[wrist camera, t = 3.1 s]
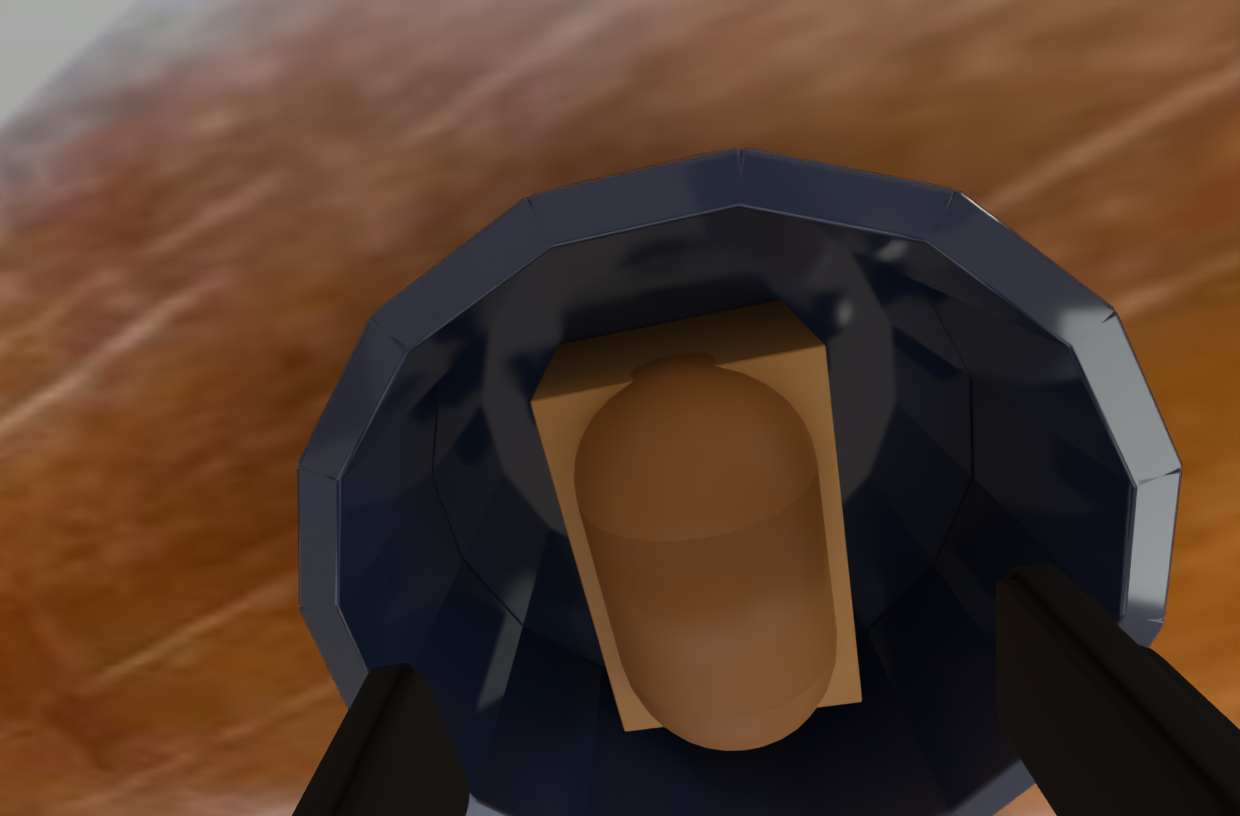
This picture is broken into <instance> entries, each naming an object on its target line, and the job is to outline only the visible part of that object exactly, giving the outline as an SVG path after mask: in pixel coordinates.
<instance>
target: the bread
mask: <svg viewBox="0 0 1240 816" xmlns="http://www.w3.org/2000/svg"><path fill="white" fill-rule="evenodd" d="M530 404H531V408H532V411H533V415H534V418H535V422H536V425H537V429H538V432H539V436H540V439H541V443H542V446H543V450H544V453H545V457H546V460H547V464H548V467H549V471H550V474H551V478H552V481H553V485H554V488H555V491H556V495H557V498H558V502H559V505H560V509H561V512H562V516H563V519H564V523H565V526H566V530H567V533H568V537H569V540H570V544H571V547H572V551H573V554H574V558H575V561H576V565H577V568H578V572H579V575H580V579H581V582H582V586H583V589H584V593H585V596H586V600H587V603H588V606H589V610H590V613H591V617H592V620H593V624H594V627H595V631H596V634H597V638H598V641H599V645H600V648H601V652H602V655H603V659H604V662H605V666H606V669H607V673H608V676H609V680H610V683H611V687H612V690H613V694H614V697H615V701H616V704H617V708H618V711H619V715H620V718H621V722H622V725H623V728H624V731H634V730H642V729H650V728H658V727H665V728H667V729H668V730H670V731H671V732H673V733H674V734H676V735H677V736H679V737H681V738H683V739H685V740H686V741H688V742H690V743H693V744H696V745H699V746H702V747H705V748H709V749H717V750H724V751H738V750H749V749H754V748H759V747H763V746H766V745H768V744H771V743H773V742H776V741H778V740H781V739H783V738H784V737H786V736H787V735H789V734H791V733H792V732H794V731H795V730H797V729H798V728H799V727H800V726H801V725H802V724H803V723H804V722H805V721H806V720H807V719H808V718H809V717H810V716H811V714H812V713H813V712H814V711H815V709H816V708H817V707H825V706H833V705H841V704H849V703H857V702H861V701H862V694H861V684H860V674H859V665H858V655H857V645H856V636H855V626H854V617H853V607H852V597H851V588H850V578H849V568H848V559H847V549H846V539H845V530H844V520H843V510H842V501H841V491H840V481H839V472H838V462H837V452H836V443H835V433H834V423H833V414H832V404H831V395H830V385H829V375H828V366H827V356H826V347H825V345H824V344H823V343H822V342H821V341H820V340H819V339H818V338H817V337H816V336H815V335H814V333H813V332H812V331H811V330H810V329H809V328H808V327H807V326H806V325H805V324H804V323H803V322H802V321H801V320H800V319H799V318H798V317H797V316H796V315H795V314H794V313H793V312H792V311H791V310H790V309H789V308H788V306H787V305H786V304H785V303H784V302H783V301H782V300H776V301H771V302H766V303H761V304H756V305H751V306H746V307H741V308H736V309H732V310H727V311H722V312H717V313H712V314H707V315H702V316H697V317H692V318H687V319H682V320H677V321H672V322H667V323H662V324H657V325H652V326H647V327H642V328H637V329H632V330H627V331H623V332H618V333H613V334H608V335H603V336H598V337H593V338H588V339H583V340H578V341H573V342H568V343H563V344H559V345H558V347H557V349H556V351H555V353H554V355H553V357H552V359H551V361H550V363H549V365H548V367H547V369H546V371H545V373H544V375H543V377H542V379H541V381H540V383H539V385H538V387H537V389H536V391H535V393H534V395H533V397H532V399H531V401H530Z"/></svg>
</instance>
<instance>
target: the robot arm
mask: <svg viewBox="0 0 1240 816" xmlns="http://www.w3.org/2000/svg"><path fill="white" fill-rule="evenodd" d="M996 679H997V715H998V719H999V722H1000V725H1001V727H1002V730H1003V732H1004V734H1005V736H1006V737H1007V739H1008V741H1009V742H1010V744H1011V745H1012V747H1013V748H1014V750H1015V751H1016V753H1017V755H1018V756H1019V758H1020V759H1021V761H1022V762H1023V764H1024V765H1025V767H1026V769H1027V770H1028V772H1029V773H1030V775H1031V776H1032V778H1033V779H1034V781H1035V783H1036V784H1037V786H1038V787H1039V789H1040V790H1041V792H1042V793H1043V795H1044V797H1045V798H1046V800H1047V801H1048V803H1049V804H1050V806H1051V807H1052V809H1053V810H1054V812H1055V814H1056V815H1057V816H1240V730H1239V729H1238V728H1237V727H1236V726H1235V725H1234V724H1233V723H1232V722H1231V721H1230V720H1229V719H1228V718H1227V717H1226V716H1224V715H1223V714H1222V713H1221V712H1220V711H1219V710H1218V709H1217V708H1216V707H1215V706H1214V705H1213V704H1212V703H1211V702H1210V701H1208V700H1207V699H1206V698H1205V697H1204V696H1203V695H1202V694H1201V693H1200V692H1199V691H1198V690H1197V689H1196V688H1195V687H1193V686H1192V685H1191V684H1190V683H1189V682H1188V681H1187V680H1186V679H1185V678H1184V677H1183V676H1182V675H1181V674H1180V673H1179V672H1177V671H1176V670H1175V669H1174V668H1173V667H1172V666H1171V665H1170V664H1169V663H1168V662H1167V661H1166V660H1165V659H1164V658H1162V657H1161V656H1160V655H1159V654H1157V653H1156V652H1155V651H1153V650H1152V649H1150V648H1147V647H1145V646H1142V645H1138V644H1137V643H1136V642H1135V641H1134V640H1133V639H1132V638H1131V637H1130V636H1129V635H1128V634H1127V633H1126V632H1125V631H1123V630H1122V629H1121V628H1120V627H1119V626H1118V625H1117V624H1116V623H1115V622H1114V621H1113V620H1112V619H1111V618H1110V617H1109V616H1108V615H1107V614H1106V613H1105V612H1104V611H1103V610H1102V609H1100V608H1099V607H1098V606H1097V605H1096V604H1095V603H1094V602H1093V601H1092V600H1091V599H1090V598H1089V597H1088V596H1087V595H1086V594H1085V593H1084V592H1083V591H1082V590H1081V589H1080V588H1079V587H1077V586H1076V585H1075V584H1074V583H1073V582H1072V581H1071V580H1070V579H1069V578H1068V577H1067V576H1066V575H1065V574H1064V573H1063V572H1062V571H1061V570H1060V569H1059V568H1057V567H1056V566H1055V565H1053V564H1050V563H1044V564H1037V565H1031V566H1024V567H1018V568H1012V569H1009V570H1008V571H1007V573H1006V579H1005V580H1000V581H998V582H997V584H996ZM469 798H470V789H469V783H468V779H467V777H466V775H465V772H464V770H463V767H462V765H461V763H460V760H459V758H458V755H457V753H456V751H455V748H454V746H453V743H452V741H451V739H450V736H449V734H448V731H447V729H446V727H445V724H444V722H443V719H442V717H441V715H440V712H439V710H438V707H437V705H436V703H435V700H434V698H433V695H432V693H431V691H430V688H429V686H428V684H427V681H426V679H425V676H424V674H423V673H422V672H421V671H420V670H414V669H413V667H412V665H410V664H409V663H399V664H393V665H386V666H380V667H375V668H373V669H372V670H371V671H370V672H369V673H368V675H367V677H366V679H365V680H364V682H363V684H362V686H361V688H360V690H359V692H358V693H357V695H356V697H355V699H354V701H353V703H352V705H351V707H350V708H349V710H348V712H347V714H346V716H345V718H344V720H343V721H342V723H341V725H340V727H339V729H338V731H337V733H336V734H335V736H334V738H333V740H332V742H331V744H330V746H329V747H328V749H327V751H326V753H325V755H324V757H323V759H322V760H321V762H320V764H319V766H318V768H317V770H316V772H315V774H314V775H313V777H312V779H311V781H310V783H309V785H308V787H307V788H306V790H305V792H304V794H303V796H302V798H301V800H300V801H299V803H298V805H297V807H296V809H295V811H294V813H293V814H292V816H466V813H467V809H468V805H469Z"/></svg>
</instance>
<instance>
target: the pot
mask: <svg viewBox="0 0 1240 816" xmlns="http://www.w3.org/2000/svg"><path fill="white" fill-rule="evenodd" d="M776 300H782V301H783V302H784V303H785V304H786V305H787V306H788V308H789V309H790V310H791V311H792V312H793V313H794V314H795V315H796V316H797V317H798V318H799V319H800V320H801V321H802V322H803V323H804V324H805V325H806V326H807V327H808V328H809V329H810V330H811V331H812V332H813V333H814V335H815V336H816V337H817V338H818V339H819V340H820V341H821V342H822V343H823V344H824V345H825V347H826V356H827V366H828V375H829V385H830V395H831V404H832V414H833V423H834V433H835V443H836V452H837V462H838V472H839V481H840V491H841V501H842V510H843V520H844V530H845V539H846V549H847V559H848V568H849V578H850V588H851V597H852V607H853V617H854V626H855V636H856V645H857V655H858V665H859V674H860V684H861V694H862V701H861V702H857V703H849V704H841V705H833V706H825V707H817V708H816V709H815V711H814V712H813V713H812V714H811V716H810V717H809V718H808V719H807V720H806V721H805V722H804V723H803V724H802V725H801V726H800V727H799V728H798V729H797V730H795V731H794V732H792V733H791V734H789V735H787V736H786V737H784V738H783V739H781V740H778V741H776V742H773V743H771V744H768V745H766V746H763V747H759V748H754V749H749V750H738V751H724V750H717V749H709V748H705V747H702V746H699V745H696V744H693V743H690V742H688V741H686V740H685V739H683V738H681V737H679V736H677V735H676V734H674V733H673V732H671V731H670V730H668V729H667V728H665V727H658V728H650V729H642V730H634V731H624V728H623V725H622V722H621V718H620V715H619V711H618V708H617V704H616V701H615V697H614V694H613V690H612V687H611V683H610V680H609V676H608V673H607V669H606V666H605V662H604V659H603V655H602V652H601V648H600V645H599V641H598V638H597V634H596V631H595V627H594V624H593V620H592V617H591V613H590V610H589V606H588V603H587V600H586V596H585V593H584V589H583V586H582V582H581V579H580V575H579V572H578V568H577V565H576V561H575V558H574V554H573V551H572V547H571V544H570V540H569V537H568V533H567V530H566V526H565V523H564V519H563V516H562V512H561V509H560V505H559V502H558V498H557V495H556V491H555V488H554V485H553V481H552V478H551V474H550V471H549V467H548V464H547V460H546V457H545V453H544V450H543V446H542V443H541V439H540V436H539V432H538V429H537V425H536V422H535V418H534V415H533V411H532V408H531V404H530V401H531V399H532V397H533V395H534V393H535V391H536V389H537V387H538V385H539V383H540V381H541V379H542V377H543V375H544V373H545V371H546V369H547V367H548V365H549V363H550V361H551V359H552V357H553V355H554V353H555V351H556V349H557V347H558V345H559V344H563V343H568V342H573V341H578V340H583V339H588V338H593V337H598V336H603V335H608V334H613V333H618V332H623V331H627V330H632V329H637V328H642V327H647V326H652V325H657V324H662V323H667V322H672V321H677V320H682V319H687V318H692V317H697V316H702V315H707V314H712V313H717V312H722V311H727V310H732V309H736V308H741V307H746V306H751V305H756V304H761V303H766V302H771V301H776ZM1181 467H1182V462H1181V460H1180V458H1179V455H1178V453H1177V451H1176V448H1175V446H1174V444H1173V441H1172V439H1171V437H1170V434H1169V432H1168V430H1167V427H1166V425H1165V423H1164V420H1163V418H1162V416H1161V413H1160V411H1159V409H1158V406H1157V404H1156V402H1155V399H1154V397H1153V395H1152V392H1151V390H1150V388H1149V385H1148V383H1147V381H1146V378H1145V376H1144V374H1143V371H1142V369H1141V367H1140V364H1139V362H1138V360H1137V357H1136V355H1135V353H1134V350H1133V348H1132V346H1131V343H1130V341H1129V339H1128V336H1127V334H1126V332H1125V329H1124V327H1123V325H1122V322H1121V320H1120V318H1119V315H1118V313H1117V312H1116V311H1115V310H1114V308H1113V307H1112V306H1111V305H1110V304H1108V303H1107V302H1106V301H1104V300H1103V299H1102V298H1101V297H1099V296H1098V295H1097V294H1095V293H1094V292H1093V291H1091V290H1090V289H1089V288H1087V287H1086V286H1085V285H1083V284H1082V283H1081V282H1080V281H1078V280H1077V279H1076V278H1074V277H1073V276H1072V275H1070V274H1069V273H1068V272H1066V271H1065V270H1064V269H1063V268H1061V267H1060V266H1059V265H1057V264H1056V263H1055V262H1053V261H1052V260H1051V259H1049V258H1048V257H1047V256H1045V255H1044V254H1043V253H1042V252H1040V251H1039V250H1038V249H1036V248H1035V247H1034V246H1032V245H1031V244H1030V243H1028V242H1027V241H1026V240H1025V239H1023V238H1022V237H1021V236H1019V235H1018V234H1017V233H1015V232H1014V231H1013V230H1011V229H1010V228H1009V227H1007V226H1006V225H1005V224H1004V223H1002V222H1001V221H1000V220H998V219H997V218H996V217H994V216H993V215H992V214H990V213H989V212H988V211H986V210H985V209H984V208H983V207H981V206H980V205H979V204H977V203H976V202H975V201H973V200H972V199H971V198H969V197H968V196H967V195H966V194H964V193H963V192H962V191H958V190H953V189H951V188H950V187H946V186H941V185H935V184H930V183H925V182H920V181H915V180H910V179H905V178H900V177H895V176H889V175H884V174H879V173H874V172H869V171H864V170H859V169H854V168H848V167H843V166H838V165H833V164H828V163H823V162H818V161H813V160H807V159H802V158H797V157H792V156H787V155H782V154H777V153H772V152H767V151H761V150H756V149H751V148H742V149H738V148H730V149H724V150H719V151H713V152H707V153H702V154H697V155H693V156H689V157H684V158H680V159H676V160H672V161H667V162H663V163H659V164H654V165H650V166H646V167H641V168H637V169H633V170H628V171H624V172H620V173H616V174H611V175H607V176H603V177H598V178H594V179H590V180H585V181H581V182H577V183H573V184H569V185H565V186H562V187H558V188H555V189H551V190H547V191H544V192H540V193H536V194H533V195H531V196H530V197H527V198H523V199H521V200H520V201H519V202H518V203H516V204H515V205H514V206H512V207H511V208H510V209H508V210H507V211H506V212H504V213H503V214H502V215H501V216H499V217H498V218H497V219H495V220H494V221H493V222H491V223H490V224H489V225H487V226H486V227H485V228H484V229H482V230H481V231H480V232H478V233H477V234H476V235H474V236H473V237H472V238H470V239H469V240H468V241H467V242H465V243H464V244H463V245H461V246H460V247H459V248H457V249H456V250H455V251H453V252H452V253H451V254H450V255H448V256H447V257H446V258H444V259H443V260H442V261H440V262H439V263H438V264H436V265H435V266H434V267H433V268H431V269H430V270H429V271H427V272H426V273H425V274H423V275H422V276H421V277H419V278H418V279H417V280H416V281H414V282H413V283H412V284H410V285H409V286H408V287H406V288H405V289H404V290H402V291H401V292H400V293H399V294H397V295H396V296H395V297H393V298H392V299H391V300H389V301H388V302H387V303H385V304H384V305H383V306H382V307H380V308H379V309H378V310H376V311H375V312H374V313H373V314H372V317H371V318H370V319H369V320H368V322H367V324H366V326H365V328H364V330H363V332H362V334H361V336H360V338H359V340H358V342H357V344H356V346H355V348H354V350H353V352H352V354H351V356H350V358H349V360H348V362H347V364H346V366H345V368H344V370H343V372H342V374H341V376H340V378H339V380H338V382H337V384H336V386H335V388H334V390H333V392H332V394H331V396H330V398H329V400H328V402H327V404H326V406H325V408H324V410H323V412H322V414H321V416H320V418H319V420H318V422H317V424H316V426H315V428H314V430H313V432H312V434H311V436H310V438H309V441H308V443H307V445H306V447H305V449H304V451H303V453H302V455H301V457H300V459H299V466H298V469H297V482H298V555H299V605H300V606H301V607H300V612H301V614H302V616H303V618H304V620H305V622H306V624H307V627H308V629H309V631H310V633H311V635H312V637H313V639H314V641H315V643H316V645H317V647H318V649H319V651H320V653H321V655H322V657H323V659H324V661H325V663H326V665H327V667H328V669H329V672H330V674H331V676H332V678H333V680H334V682H335V684H336V686H337V688H338V690H339V692H340V694H341V696H342V698H343V700H344V702H345V704H346V706H347V708H348V710H349V708H350V707H351V705H352V703H353V701H354V699H355V697H356V695H357V693H358V692H359V690H360V688H361V686H362V684H363V682H364V680H365V679H366V677H367V675H368V673H369V672H370V671H371V670H372V669H373V668H375V667H380V666H386V665H393V664H399V663H409V664H410V665H412V667H413V669H414V670H420V671H421V672H422V673H423V674H424V676H425V679H426V681H427V684H428V686H429V688H430V691H431V693H432V695H433V698H434V700H435V703H436V705H437V707H438V710H439V712H440V715H441V717H442V719H443V722H444V724H445V727H446V729H447V731H448V734H449V736H450V739H451V741H452V743H453V746H454V748H455V751H456V753H457V755H458V758H459V760H460V763H461V765H462V767H463V770H464V772H465V775H466V777H467V779H468V783H469V789H470V798H469V805H468V809H467V813H466V816H994V815H995V814H996V813H998V812H999V811H1000V810H1001V809H1003V808H1004V807H1005V806H1007V805H1008V804H1009V803H1011V802H1012V801H1013V800H1015V799H1016V798H1017V797H1019V796H1020V795H1021V794H1023V793H1024V792H1025V791H1026V790H1028V789H1029V788H1030V787H1032V786H1033V785H1034V784H1036V783H1035V781H1034V779H1033V778H1032V776H1031V775H1030V773H1029V772H1028V770H1027V769H1026V767H1025V765H1024V764H1023V762H1022V761H1021V759H1020V758H1019V756H1018V755H1017V753H1016V751H1015V750H1014V748H1013V747H1012V745H1011V744H1010V742H1009V741H1008V739H1007V737H1006V736H1005V734H1004V732H1003V730H1002V727H1001V725H1000V722H999V719H998V715H997V679H996V584H997V582H998V581H1000V580H1005V579H1006V573H1007V571H1008V570H1009V569H1012V568H1018V567H1024V566H1031V565H1037V564H1044V563H1050V564H1053V565H1055V566H1056V567H1057V568H1059V569H1060V570H1061V571H1062V572H1063V573H1064V574H1065V575H1066V576H1067V577H1068V578H1069V579H1070V580H1071V581H1072V582H1073V583H1074V584H1075V585H1076V586H1077V587H1079V588H1080V589H1081V590H1082V591H1083V592H1084V593H1085V594H1086V595H1087V596H1088V597H1089V598H1090V599H1091V600H1092V601H1093V602H1094V603H1095V604H1096V605H1097V606H1098V607H1099V608H1100V609H1102V610H1103V611H1104V612H1105V613H1106V614H1107V615H1108V616H1109V617H1110V618H1111V619H1112V620H1113V621H1114V622H1115V623H1116V624H1117V625H1118V626H1119V627H1120V628H1121V629H1122V630H1123V631H1125V632H1126V633H1127V634H1128V635H1129V636H1130V637H1131V638H1132V639H1133V640H1134V641H1135V642H1136V643H1137V644H1138V645H1142V646H1145V647H1147V648H1149V647H1150V646H1151V644H1152V642H1153V641H1154V639H1155V638H1156V636H1157V635H1158V633H1159V631H1160V630H1161V628H1162V627H1163V625H1164V623H1165V620H1164V619H1163V618H1164V617H1165V616H1166V607H1167V598H1168V590H1169V581H1170V572H1171V563H1172V555H1173V546H1174V537H1175V528H1176V520H1177V511H1178V502H1179V494H1180V485H1181V476H1182V471H1181V469H1180V468H1181Z"/></svg>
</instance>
